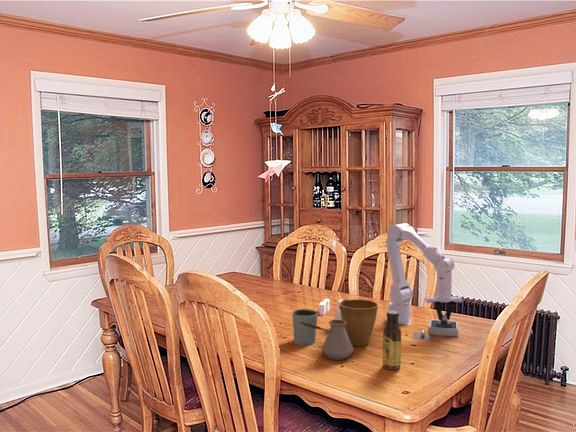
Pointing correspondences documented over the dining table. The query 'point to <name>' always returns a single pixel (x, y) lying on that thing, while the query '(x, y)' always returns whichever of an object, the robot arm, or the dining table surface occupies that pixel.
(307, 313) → the grey cup
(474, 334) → the dining table surface
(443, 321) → the knob
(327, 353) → the coffee pot
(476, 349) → the dining table surface
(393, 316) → the sauce bottle
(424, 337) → the stud plate
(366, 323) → the plant pot
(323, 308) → the napkin holder
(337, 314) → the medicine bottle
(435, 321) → the bin
